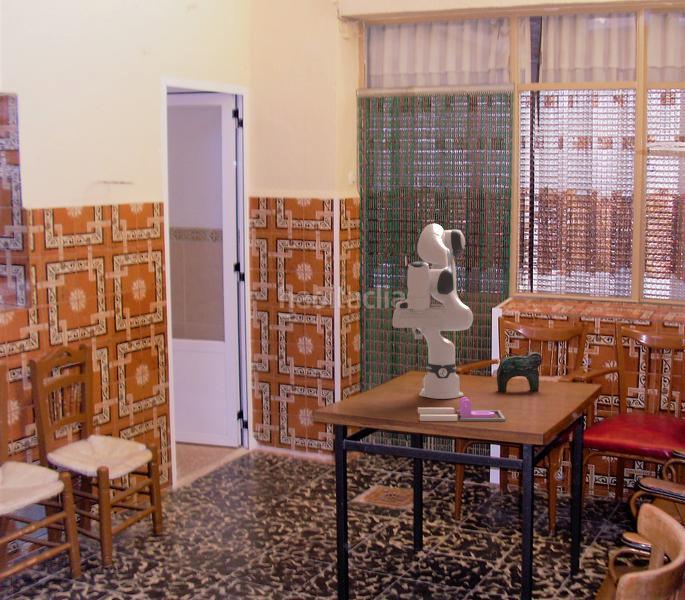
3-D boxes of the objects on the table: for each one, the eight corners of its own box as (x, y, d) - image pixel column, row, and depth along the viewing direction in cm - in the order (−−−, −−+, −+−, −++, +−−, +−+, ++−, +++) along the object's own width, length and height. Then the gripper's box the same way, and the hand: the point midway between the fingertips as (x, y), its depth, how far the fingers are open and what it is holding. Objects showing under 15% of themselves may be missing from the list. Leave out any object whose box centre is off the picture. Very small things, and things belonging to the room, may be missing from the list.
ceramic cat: (539, 389, 432) (540, 344, 430) (543, 391, 426) (544, 346, 424) (495, 390, 430) (495, 344, 428) (499, 393, 423) (499, 347, 421)
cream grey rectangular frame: (417, 412, 384) (417, 407, 384) (499, 412, 384) (499, 407, 383) (420, 421, 369) (420, 415, 369) (505, 421, 369) (505, 416, 369)
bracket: (461, 418, 375) (461, 400, 374) (459, 414, 381) (460, 397, 380) (495, 418, 375) (495, 400, 374) (493, 414, 381) (493, 397, 380)
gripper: (444, 302, 382) (444, 337, 384) (392, 302, 383) (392, 337, 384) (446, 304, 376) (445, 340, 377) (392, 304, 376) (392, 340, 378)
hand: (418, 339), depth 381 cm, fingers closed
